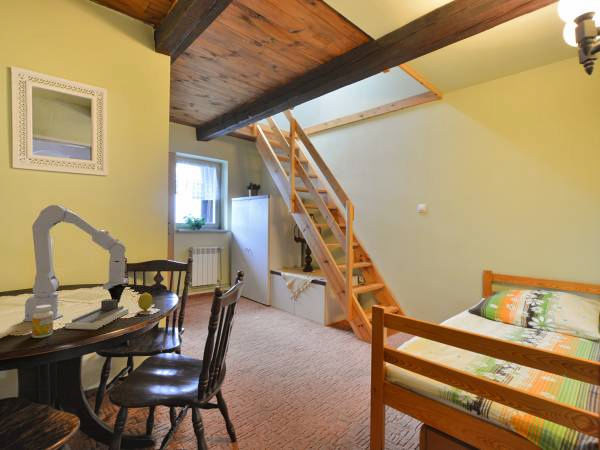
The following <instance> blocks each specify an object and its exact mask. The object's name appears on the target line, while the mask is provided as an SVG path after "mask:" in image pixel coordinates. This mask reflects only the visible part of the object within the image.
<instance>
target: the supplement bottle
mask: <svg viewBox="0 0 600 450" xmlns="http://www.w3.org/2000/svg"><path fill="white" fill-rule="evenodd" d="M50 310H51V305H40V306H37V307H36V308H35V311H36V313H35V314H33V316H32V321H31V327H32V328H31V337H32V338H36V339H38V338H39V339H41V338H46V337H49V336H51V335H53V333H54V319H53V312H52V311H50Z"/></svg>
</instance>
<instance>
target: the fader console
mask: <svg viewBox="0 0 600 450" xmlns="http://www.w3.org/2000/svg"><path fill="white" fill-rule="evenodd" d="M128 314H129V307H128V308H127V307H124V305H121V306H118V308H116V309H114V310H112V311H101V307H98V308H97V309H94V310H91V311H89V312H86V313H84V314H82V315H80V316H77V317H75V318H72V319H70V320H69V321H66V322H65V329H70V330H72V329H74V330H75V329H76V330H98V329H99V328H102V327H103V325H104V326H105V325H108V324H109V323H111V322H113V320H114V321H116V320H117V318H118V319H119V317H120V318H121V317H124V316H125V315H128ZM115 319H116V320H115Z"/></svg>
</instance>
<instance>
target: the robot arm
mask: <svg viewBox="0 0 600 450" xmlns="http://www.w3.org/2000/svg"><path fill="white" fill-rule="evenodd" d="M62 222H63V223H66V224H72V225H74V226H76V227H77V228H79V229H80V230H82V231H83V232H85V233H86V234H88V235H89V236H91V241H92V242H93V243H95V244H97V245H98V246H99V247H100V248H102V249H104V250H105V251H108V253H109V262H108V264H109V265H108V266H109V267H108V281H107V282H105V283H104V284H103V285H102V290H107V291H108V293H109V294H110V299H117V300H118V304H119V303H120V302H121V298H122V295H123V292H124V290H125V289H126V286H127V285H126V284H127V283H129V282H130V281H129V279H130V278H129V277H125V275H126V273H125V272H126V259H125V258H126V255H125V253H126V248H127V247H126V246H125V244H124V243H123V242H122V241H120V240H119V239H118V238H115V237H114V236H112V235H111V234H110V232H109V231H108V230H105V229H104V230H103V229H97V228H95V227H94V226H93V225H92V224H90V223H89V222H88V221H86V220H85V219H84V218H82V217H81V216H79V214H77V213H75V212H74V211H72V210H70V209H67V207H64V206H63V205H58V204H56V205H55V204H52V205H51V204H50V205H49V206H46V207H45V208H43V209H42V210H40V212H39V215H38V216H37V218H36V219H35V221H34V222H33V224H32V225H31V229H32V238H33V239H32V240H33V246H34V247H33V249H34V250H33V251H34V258H35V260H34V261H35V268H36V270H35V271H36V274H35V277H34V284H33V286H32V294H33V295H31V296H29V297H28V298H27V299H26V300H25V302H24V303H25V304H24V318H23V319H22V322H32V316H33V314H35V313H36V311H35V308H36V307H37V306H40V305H51V310H50V311H52V312H53V320H56V319H58V318H61V317H63V316H64V314H58V311H59V307H58V302H59V301H58V300H59V292H58V291H57V290H58V288H59V287H60V281H59V280H58V278H57V276H56V272H55V270H54V264H53V255H52V254H53V251H52V244H51V233H50V232H51V231H50V230H52V228H54V227H55V226H57V224H60V223H62Z"/></svg>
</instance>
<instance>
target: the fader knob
mask: <svg viewBox="0 0 600 450" xmlns="http://www.w3.org/2000/svg"><path fill="white" fill-rule="evenodd" d="M100 303H101V305H100V306H101V307H100V308H101V311H112V310H114V309H116V308H118V307H119V303H118V300H117V299H112V298H110V299H109V298H106V299H103V300H101V302H100Z"/></svg>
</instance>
